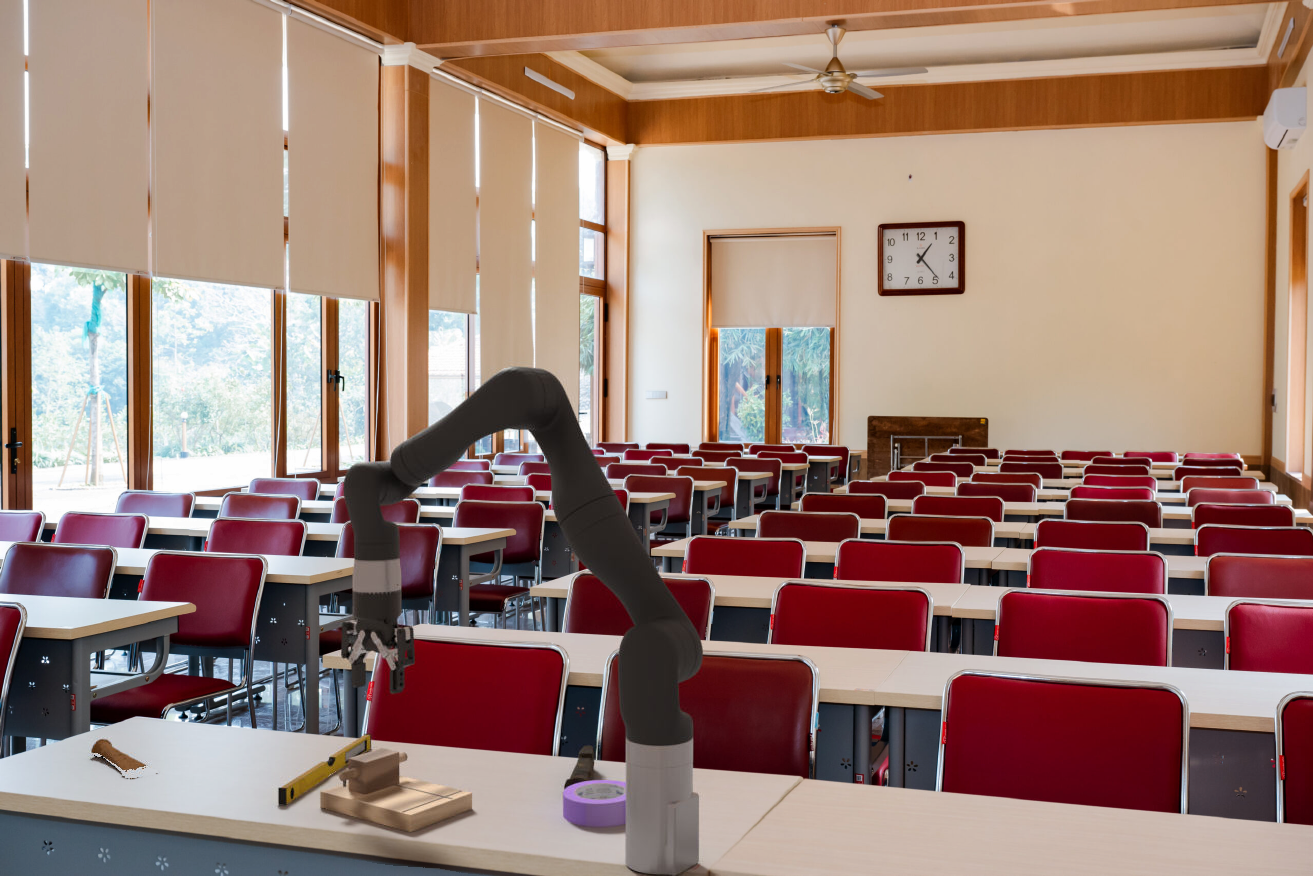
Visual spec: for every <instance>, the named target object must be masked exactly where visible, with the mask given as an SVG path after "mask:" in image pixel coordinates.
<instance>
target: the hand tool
mask: <svg viewBox="0 0 1313 876" xmlns="http://www.w3.org/2000/svg"><path fill="white" fill-rule="evenodd" d="M577 756H578V757H577V762H576V764H575V766H574V768H573V771H572V772H571V774H570V777H569V778H567V779H566V780H565V783H564V785H563V791H564V790H565V789H566V788H567V787H569V786H571V785H573V784H576V783H580V782H585V781H592V778H593V777H594V772H595V751H594V746H592V745H590V744H589V745H584V746H582V748H581V749H580V750H579V752H578V755H577Z"/></svg>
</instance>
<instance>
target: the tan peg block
mask: <svg viewBox="0 0 1313 876" xmlns="http://www.w3.org/2000/svg"><path fill="white" fill-rule="evenodd" d="M407 761H408V755H407V753H406V752H401V753H400V752H399V751H396V750H392V749H387V748H379V749H375V750H372V751H367V752H365V753H364V754H361V755H358V756H355V757H352V758H348V764H347V770H344V771H341V772H339V774H338V779H339V781H341V782H342V784H343V787H346V783H348V786H349V790H350V791H354V792H358V793H362V794H369V793H372V792H375V791H378V790H381V789H384V788H387V787H390V786H392V785H395V784H398V783H400V780H399V776H400V764H401V763H403V762H407ZM347 781H348V782H347Z"/></svg>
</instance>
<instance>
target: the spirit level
mask: <svg viewBox="0 0 1313 876" xmlns="http://www.w3.org/2000/svg"><path fill="white" fill-rule="evenodd" d="M369 749H370V750H371V749H372V734H371V733H364V735H362V736H360V737H359V738H357V739H356V740H355V741H352V742H351V743H349V744H348V745H346V746H345V747H343V748H342V749H340V750H338V751H337V752H335V753H333V754H332V755H330V756H329V757H328V760H327V761H321V762H319V763H318V764H316V765H314V766H312V768H310V769H308V770H306V771H305V772H303V773H301V774H300V775H298V776H297V777H295V778H294V779H292V780H291V781H289V782H287V783H285V784H284V785H282V786H281V787H278V788H277V789H278V790H277V792H278V793H277V794H278V795H277V797H278V798H277V799H278V803H277V804H279V805H278V806H281V805H280V804H284V805H283V806H287V805H288V804H290V803H291V802H293V801H294V800H295V798H296V799H297V798H299V797H300V796H302V795H303V794H305V793H306V792H308V791H309V790H310V788H311V789H312V788H314V787H315V786H317V785H318V784H320V783H321V782H323V781H324V780H326V779H327V778H329V777H330V776H331V775H330V774H332V773H333V774H335V773H336V772H338V771H339V770H341V769H342V768H344V767H346V766H348V758H352V757H355V756H358V755H361V754H363V753H364V752H365V753H367V752H369ZM366 751H367V752H366ZM365 753H364V754H365ZM340 768H341V769H340ZM338 769H339V770H338ZM337 770H338V771H337ZM335 771H336V772H335ZM334 772H335V773H334ZM333 774H332V775H333ZM329 775H330V776H329ZM328 776H329V777H328ZM325 778H326V779H325ZM323 779H324V780H323ZM322 780H323V781H322ZM319 782H320V783H319ZM317 783H318V784H317ZM316 784H317V785H316ZM313 786H314V787H313ZM308 789H309V790H308ZM307 790H308V791H307ZM305 791H306V792H305ZM304 792H305V793H304ZM302 793H303V794H302ZM301 794H302V795H301ZM299 795H300V796H299ZM298 796H299V797H298ZM292 800H293V801H292ZM289 802H290V803H289ZM287 803H288V804H287Z"/></svg>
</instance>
